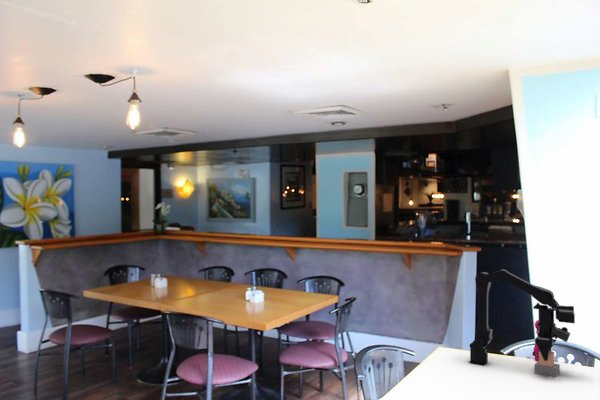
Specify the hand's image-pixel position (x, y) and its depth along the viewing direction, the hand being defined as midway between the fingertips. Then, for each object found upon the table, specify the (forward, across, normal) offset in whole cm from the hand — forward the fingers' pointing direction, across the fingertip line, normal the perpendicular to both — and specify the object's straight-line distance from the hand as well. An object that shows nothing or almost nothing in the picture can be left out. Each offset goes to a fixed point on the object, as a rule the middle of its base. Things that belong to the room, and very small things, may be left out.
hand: (546, 358), depth 194 cm
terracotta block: (+2, 0, 0) cm, 2 cm away
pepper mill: (+6, +19, +4) cm, 20 cm away
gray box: (+6, 0, 0) cm, 6 cm away
